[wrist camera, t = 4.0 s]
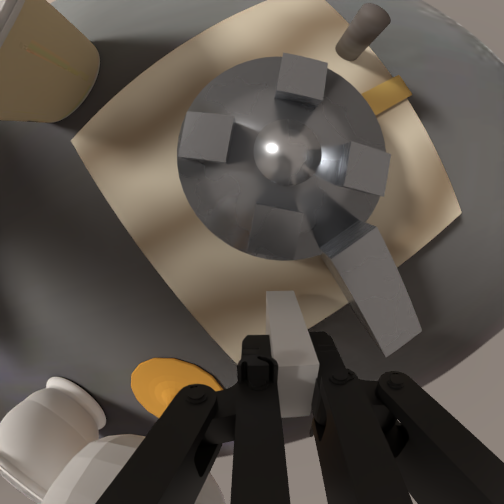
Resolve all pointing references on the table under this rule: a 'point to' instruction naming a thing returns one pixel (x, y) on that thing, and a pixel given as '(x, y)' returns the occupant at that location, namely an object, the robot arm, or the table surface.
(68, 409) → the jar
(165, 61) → the housing plate
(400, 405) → the robot arm
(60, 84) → the coffee cup
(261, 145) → the grey notched machine part
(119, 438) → the cup
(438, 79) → the table surface
